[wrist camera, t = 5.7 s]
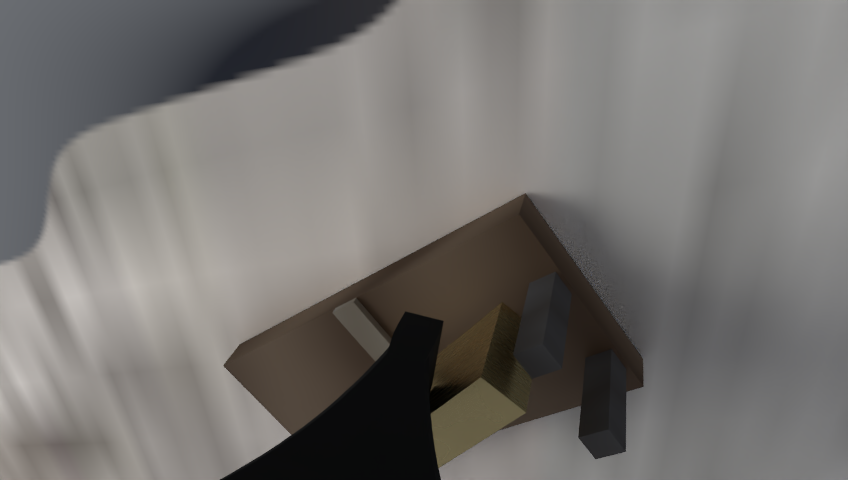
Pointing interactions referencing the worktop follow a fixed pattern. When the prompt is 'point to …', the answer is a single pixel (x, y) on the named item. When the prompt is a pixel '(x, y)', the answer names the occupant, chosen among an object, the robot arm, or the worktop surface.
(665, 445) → the worktop surface
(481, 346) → the bar
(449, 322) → the plate
